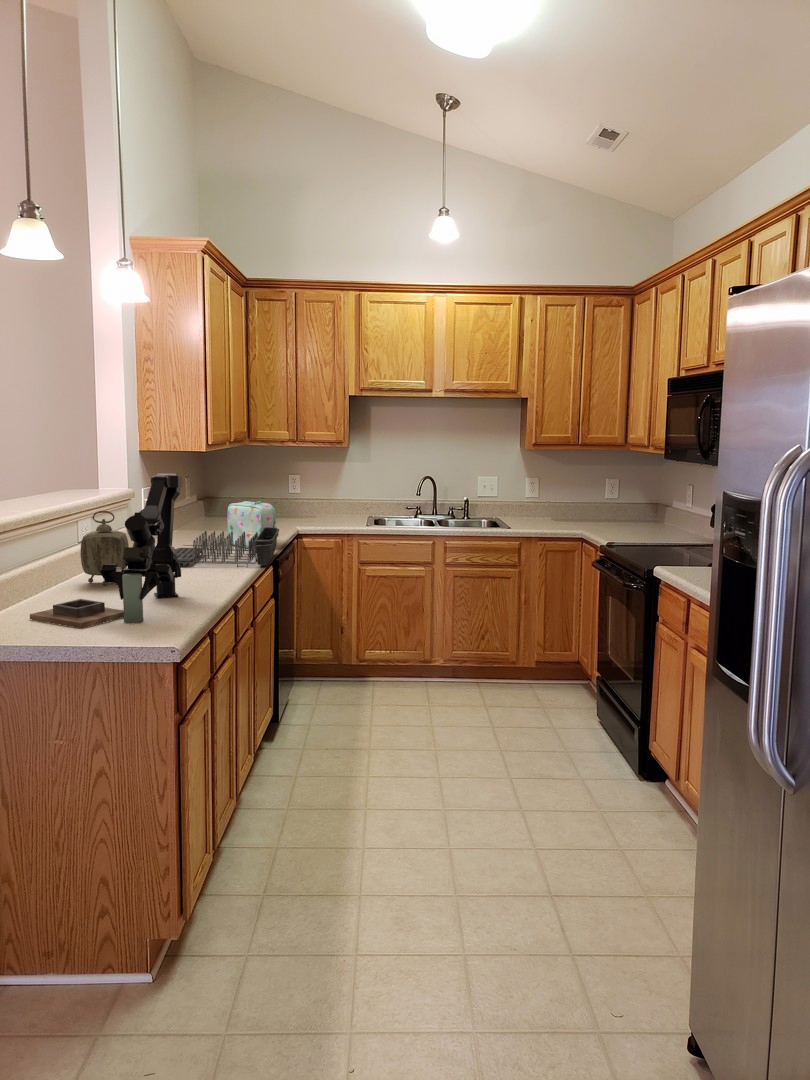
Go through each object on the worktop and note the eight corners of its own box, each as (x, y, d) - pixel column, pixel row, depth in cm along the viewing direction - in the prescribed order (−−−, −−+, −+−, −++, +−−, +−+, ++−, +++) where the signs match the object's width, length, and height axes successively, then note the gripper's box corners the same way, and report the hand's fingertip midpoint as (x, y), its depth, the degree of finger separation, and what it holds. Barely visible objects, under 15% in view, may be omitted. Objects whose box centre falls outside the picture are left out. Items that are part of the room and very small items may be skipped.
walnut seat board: (77, 608, 226) (77, 594, 225) (127, 616, 217) (127, 602, 217) (29, 619, 212) (29, 605, 211) (81, 628, 203) (80, 613, 202)
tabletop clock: (130, 581, 267) (127, 509, 264) (126, 586, 258) (124, 512, 255) (85, 582, 264) (82, 509, 260) (80, 587, 255) (77, 512, 252)
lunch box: (281, 549, 344) (281, 501, 341) (263, 551, 336) (263, 502, 333) (242, 543, 360) (242, 497, 357) (225, 545, 352) (224, 498, 349)
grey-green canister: (122, 620, 212) (121, 573, 211) (141, 618, 215) (140, 572, 213) (125, 624, 208) (123, 577, 206) (144, 622, 210) (143, 575, 209)
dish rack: (273, 569, 295) (273, 538, 294) (155, 569, 292) (154, 537, 290) (280, 555, 329) (280, 527, 327) (175, 555, 325) (174, 526, 324)
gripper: (100, 535, 212) (87, 582, 202) (169, 535, 212) (159, 582, 203) (111, 558, 221) (99, 604, 211) (177, 559, 221) (168, 605, 212)
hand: (131, 598), depth 209 cm, fingers closed on grey-green canister, 5 cm apart
